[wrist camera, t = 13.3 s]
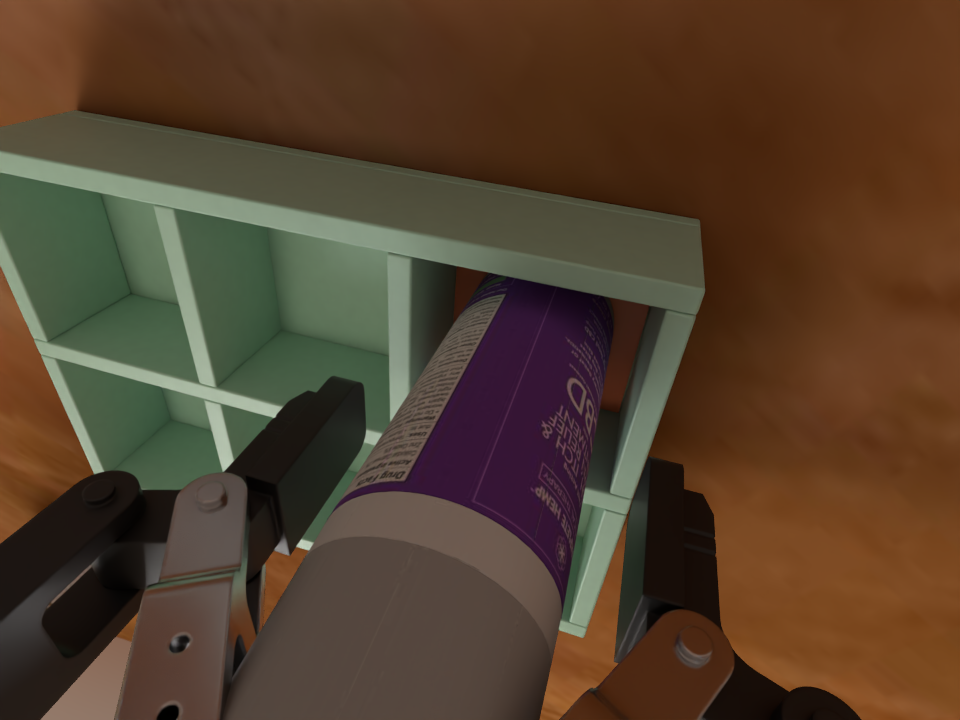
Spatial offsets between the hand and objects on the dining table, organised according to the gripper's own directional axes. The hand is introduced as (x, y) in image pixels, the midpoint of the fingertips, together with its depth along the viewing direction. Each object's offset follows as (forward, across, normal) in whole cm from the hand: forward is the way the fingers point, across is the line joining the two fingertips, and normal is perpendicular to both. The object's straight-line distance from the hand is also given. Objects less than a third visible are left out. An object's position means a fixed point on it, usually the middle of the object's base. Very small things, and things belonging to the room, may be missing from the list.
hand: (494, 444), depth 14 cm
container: (+6, 0, 0) cm, 6 cm away
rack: (+7, +7, +4) cm, 11 cm away
